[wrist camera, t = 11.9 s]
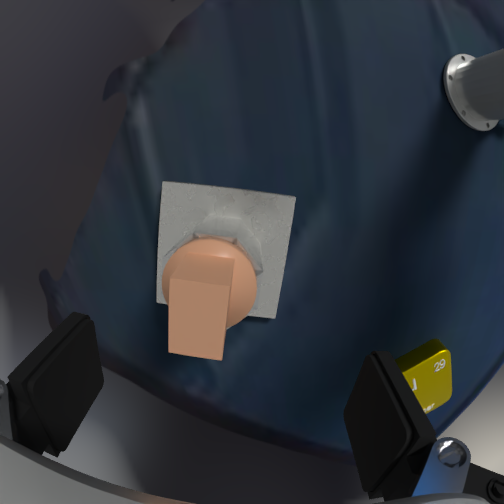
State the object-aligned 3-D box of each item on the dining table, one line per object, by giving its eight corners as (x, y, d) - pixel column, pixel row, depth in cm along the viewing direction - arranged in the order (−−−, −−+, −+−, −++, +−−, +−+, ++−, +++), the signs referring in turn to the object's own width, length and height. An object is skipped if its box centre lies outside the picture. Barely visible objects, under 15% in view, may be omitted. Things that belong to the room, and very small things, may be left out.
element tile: (378, 420, 49) (385, 437, 44) (363, 373, 45) (371, 391, 40) (443, 386, 47) (453, 400, 42) (438, 333, 43) (452, 347, 39)
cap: (261, 235, 29) (266, 273, 19) (250, 313, 32) (249, 376, 22) (176, 225, 29) (138, 256, 19) (172, 302, 31) (141, 359, 21)
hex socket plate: (294, 196, 37) (312, 209, 26) (274, 313, 41) (281, 363, 30) (166, 180, 36) (131, 187, 25) (159, 297, 40) (131, 341, 29)
